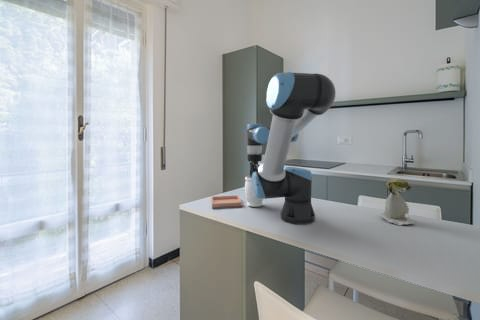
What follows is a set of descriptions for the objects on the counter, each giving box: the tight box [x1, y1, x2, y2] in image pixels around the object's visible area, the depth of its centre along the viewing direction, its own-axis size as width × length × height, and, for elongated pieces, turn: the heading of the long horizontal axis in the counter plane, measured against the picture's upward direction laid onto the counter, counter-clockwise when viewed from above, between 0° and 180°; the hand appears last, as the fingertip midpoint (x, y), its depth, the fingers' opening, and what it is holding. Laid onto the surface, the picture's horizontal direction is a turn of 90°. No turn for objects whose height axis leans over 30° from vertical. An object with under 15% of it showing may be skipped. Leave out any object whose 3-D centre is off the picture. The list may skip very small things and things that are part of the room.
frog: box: [380, 178, 416, 227], centre depth 108 cm, size 12×13×18 cm
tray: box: [210, 194, 243, 210], centre depth 137 cm, size 15×16×2 cm
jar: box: [244, 175, 264, 208], centre depth 132 cm, size 11×10×15 cm
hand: (254, 194), depth 132 cm, fingers closed on jar, 10 cm apart
